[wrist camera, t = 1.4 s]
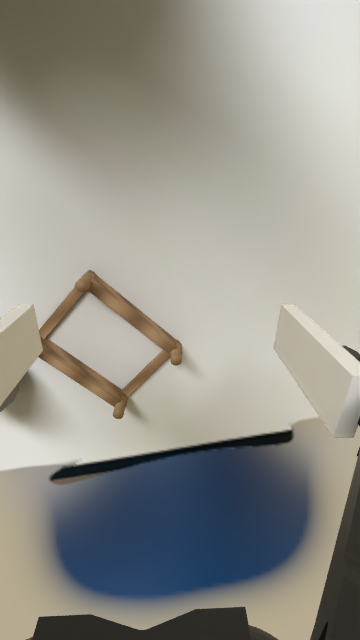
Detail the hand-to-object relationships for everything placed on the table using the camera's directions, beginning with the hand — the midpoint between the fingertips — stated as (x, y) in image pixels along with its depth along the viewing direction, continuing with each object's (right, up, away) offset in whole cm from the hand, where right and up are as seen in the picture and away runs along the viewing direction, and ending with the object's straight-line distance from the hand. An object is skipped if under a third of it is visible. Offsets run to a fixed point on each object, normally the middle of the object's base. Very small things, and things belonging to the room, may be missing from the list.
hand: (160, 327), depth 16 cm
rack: (-10, -3, +30) cm, 32 cm away
